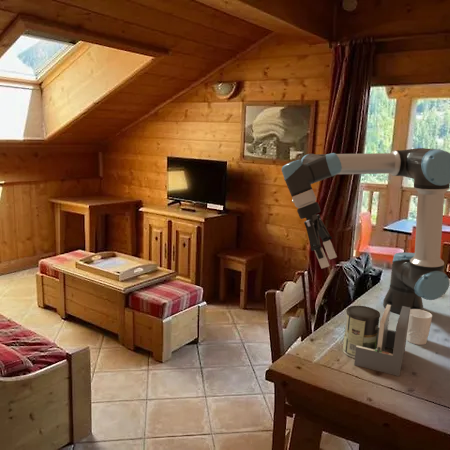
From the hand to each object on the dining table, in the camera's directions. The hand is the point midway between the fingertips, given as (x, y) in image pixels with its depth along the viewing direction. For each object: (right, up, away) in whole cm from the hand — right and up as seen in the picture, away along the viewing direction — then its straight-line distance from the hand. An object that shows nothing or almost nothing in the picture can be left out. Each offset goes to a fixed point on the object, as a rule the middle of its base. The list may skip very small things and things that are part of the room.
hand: (329, 262), depth 156 cm
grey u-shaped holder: (+13, -29, -11) cm, 34 cm away
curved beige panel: (+13, -28, -13) cm, 34 cm away
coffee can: (+7, -28, -8) cm, 31 cm away
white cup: (+30, -27, +1) cm, 41 cm away
